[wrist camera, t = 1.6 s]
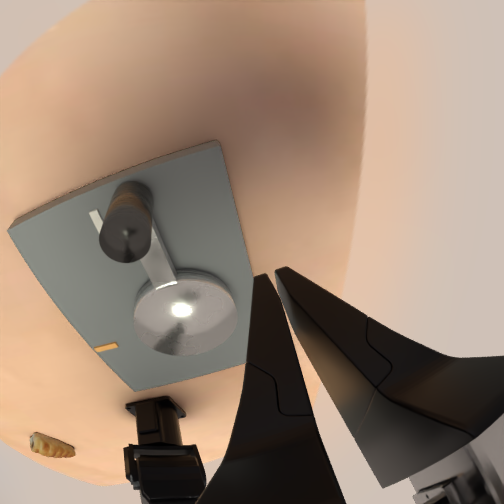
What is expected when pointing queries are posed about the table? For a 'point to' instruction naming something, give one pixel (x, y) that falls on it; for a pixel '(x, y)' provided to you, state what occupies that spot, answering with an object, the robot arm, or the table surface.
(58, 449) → the pastry
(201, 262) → the base plate
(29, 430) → the table surface
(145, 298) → the silver handled piece
